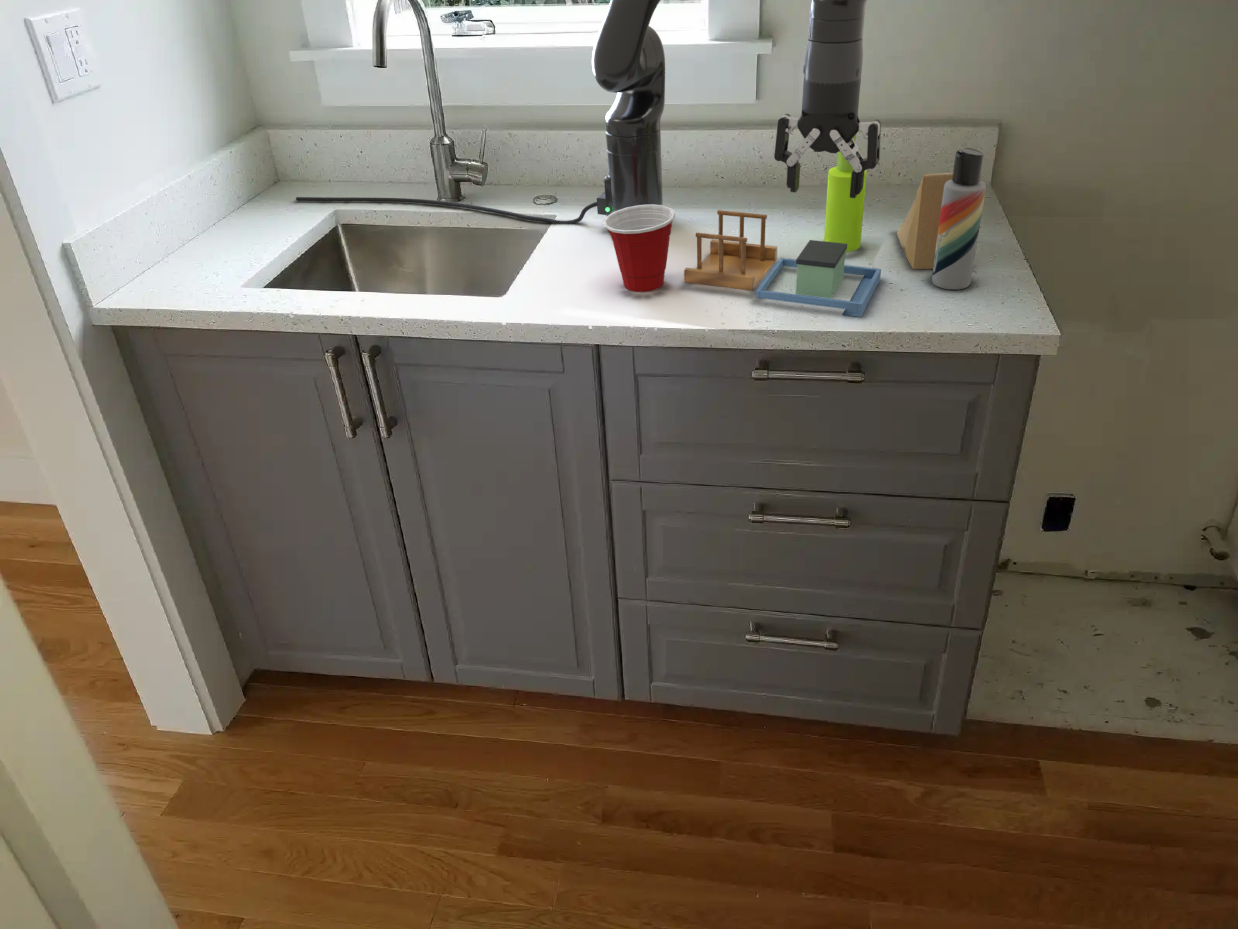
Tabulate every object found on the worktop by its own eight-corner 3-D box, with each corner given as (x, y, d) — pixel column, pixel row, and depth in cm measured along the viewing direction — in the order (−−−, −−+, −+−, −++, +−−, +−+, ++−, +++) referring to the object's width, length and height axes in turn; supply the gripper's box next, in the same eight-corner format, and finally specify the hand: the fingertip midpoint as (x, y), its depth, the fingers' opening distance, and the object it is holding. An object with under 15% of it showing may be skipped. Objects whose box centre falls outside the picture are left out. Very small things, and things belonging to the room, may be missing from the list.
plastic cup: (608, 276, 156) (604, 203, 150) (676, 274, 156) (674, 200, 149) (606, 305, 147) (601, 229, 141) (677, 302, 147) (676, 226, 140)
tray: (755, 303, 145) (755, 290, 144) (780, 269, 155) (780, 257, 154) (861, 317, 140) (862, 304, 138) (879, 280, 149) (881, 268, 148)
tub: (794, 297, 145) (796, 258, 142) (807, 276, 151) (809, 239, 148) (832, 301, 143) (835, 263, 140) (844, 280, 149) (847, 243, 146)
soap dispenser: (866, 257, 157) (878, 131, 146) (822, 256, 158) (831, 131, 147) (866, 244, 162) (877, 120, 150) (823, 243, 163) (831, 120, 152)
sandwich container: (947, 231, 164) (960, 141, 156) (968, 268, 152) (983, 172, 143) (895, 233, 165) (905, 143, 156) (911, 269, 152) (923, 174, 144)
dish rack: (684, 287, 151) (683, 234, 146) (712, 256, 161) (712, 206, 156) (752, 296, 147) (753, 242, 142) (776, 264, 157) (778, 212, 152)
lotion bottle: (926, 276, 150) (943, 145, 138) (962, 273, 150) (982, 142, 139) (939, 291, 145) (958, 157, 134) (976, 288, 145) (998, 153, 134)
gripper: (892, 70, 130) (879, 189, 139) (788, 65, 135) (782, 180, 144) (880, 83, 124) (867, 207, 133) (772, 77, 129) (767, 197, 139)
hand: (823, 193), depth 139 cm, fingers open, 8 cm apart
